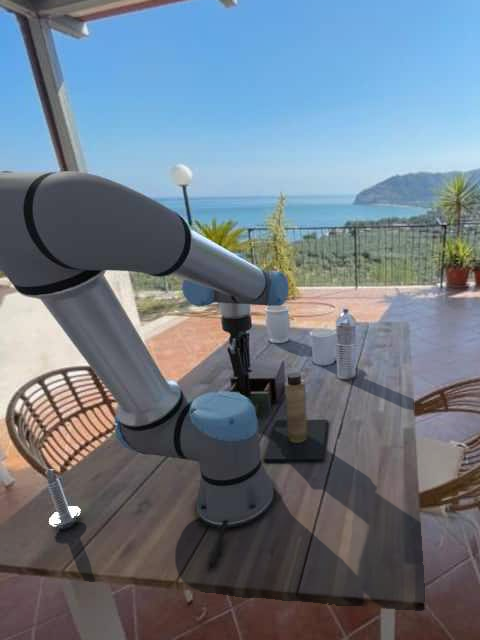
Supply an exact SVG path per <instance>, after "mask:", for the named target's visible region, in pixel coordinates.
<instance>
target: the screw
mask: <svg viewBox="0 0 480 640" xmlns="http://www.w3.org/2000/svg"><path fill="white" fill-rule="evenodd" d="M44 474H45V477H46V481H47V484H46V486H47V489H48V491H49V494H50V496H51V499H52V502H53V505H54V508H55V511H56V512H54V513H53V514H52V515H51V517H50V518H49V521H48V522H49V525H50V526H51V527H53V528H59V529H61V530H67V529H69V528H72V527H73V526H75V524H76V522H77V519H78V518H79V517H80V515H81V509H80V508H79V507H78V506H69V505H68V501H67V499H66V496H65V493H64V490H63V486H62V484H61V481H60V480H59V478H58V477H57V475H56V473H55V470H54V468H48V469H47V470H45V472H44Z"/></svg>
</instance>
